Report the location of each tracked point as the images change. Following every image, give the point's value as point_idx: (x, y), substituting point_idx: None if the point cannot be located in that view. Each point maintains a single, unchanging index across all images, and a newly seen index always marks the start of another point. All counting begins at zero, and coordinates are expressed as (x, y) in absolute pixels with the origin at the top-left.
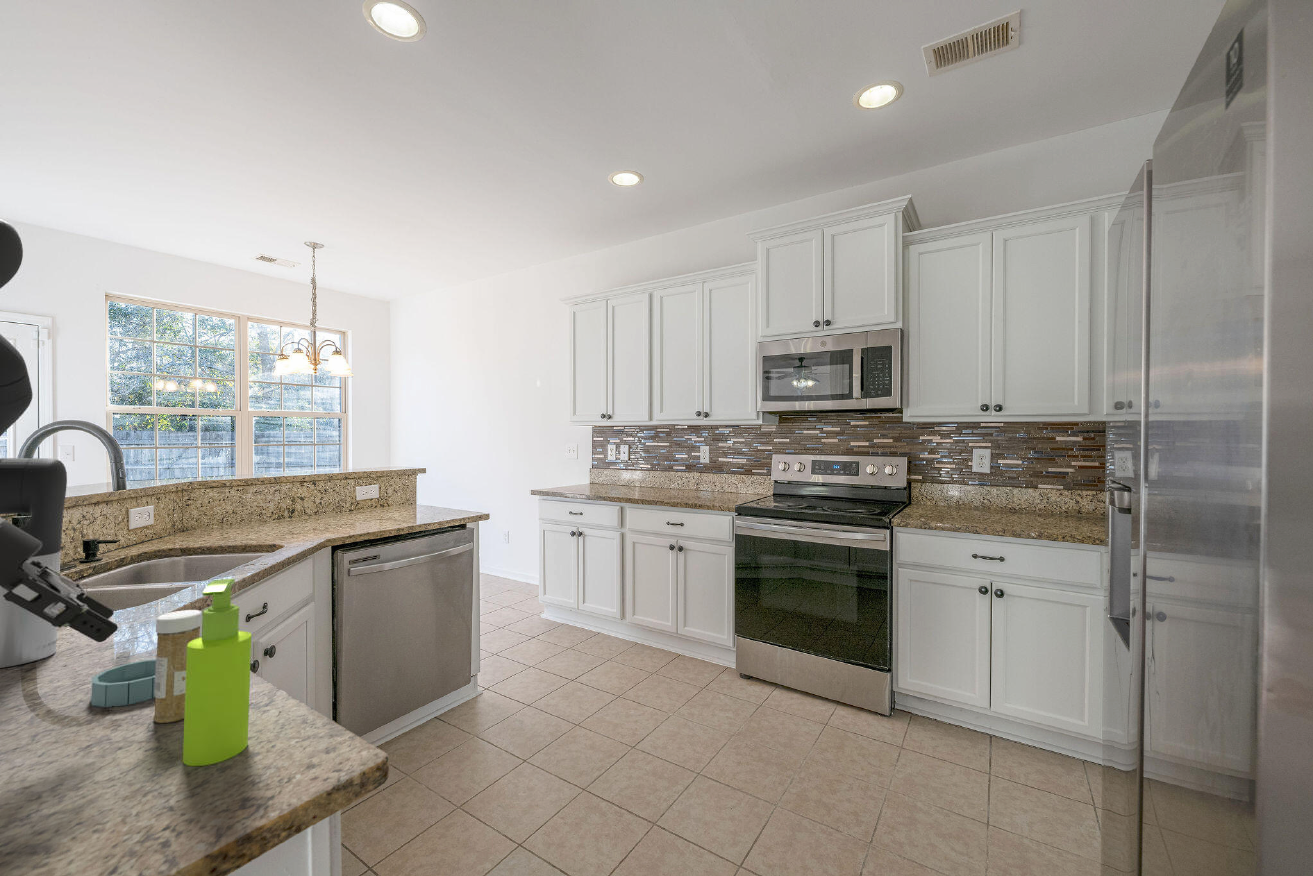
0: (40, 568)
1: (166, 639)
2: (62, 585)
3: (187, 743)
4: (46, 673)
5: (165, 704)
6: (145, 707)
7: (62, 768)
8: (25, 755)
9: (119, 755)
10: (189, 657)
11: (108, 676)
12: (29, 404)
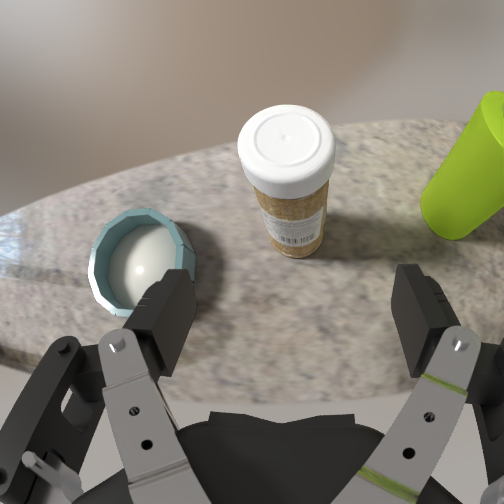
0: (23, 474)
1: (320, 189)
2: (447, 437)
3: (473, 229)
4: (16, 341)
5: (317, 238)
6: (223, 264)
7: (376, 353)
8: (292, 391)
9: (387, 298)
10: None
11: (105, 295)
12: None
